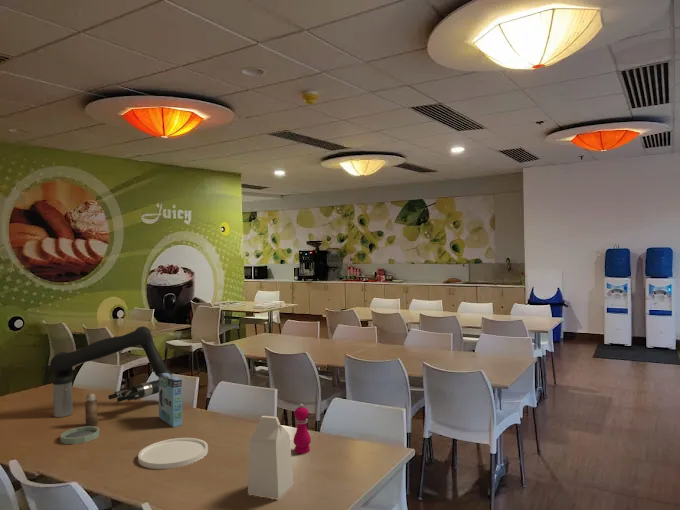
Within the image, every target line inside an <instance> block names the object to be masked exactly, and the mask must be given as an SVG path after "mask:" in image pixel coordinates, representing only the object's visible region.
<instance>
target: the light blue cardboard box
mask: <svg viewBox="0 0 680 510" xmlns="http://www.w3.org/2000/svg"><path fill="white" fill-rule="evenodd" d="M158 375H159V377H158V380H159V392H158V419H160V420H162V421H163V422H165V423H166V424H168V425H169V426H171V427H172V428H176V427H181V426H183V391H182V390H183V389H182V388H183V387H182V386H183V385H182V383H183V382H182V378H179V377H177V376H175V375H174V374H173V375H171V374H168V373H163V374H158Z"/></svg>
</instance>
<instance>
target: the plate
mask: <svg viewBox="0 0 680 510" xmlns="http://www.w3.org/2000/svg"><path fill="white" fill-rule="evenodd" d="M208 445H209V444H208V443H207V442H206V440H202V439H200V438H193V437H177V438H175V437H174V438H169V439H164V440H161V441H158V442H154V443H151V444H148V445H147V446H145V447H144V448H142V449H141V450H140V451H139V452H138V455H137V462H138V464H139V465H140V466H142V467H144V468H147V469H150V470H151V469H153V470H169V469H177V468H182V467H186V466H189V465H192V464H194V463H193V462H195V463H197V462H199V461H200V459H201V460H202V459H203V458H205V457H206V456H207V454H208V453H209V446H208ZM204 456H205V457H204ZM198 460H199V461H198ZM196 461H197V462H196ZM191 463H192V464H191ZM188 464H189V465H188ZM185 465H186V466H185ZM181 466H182V467H181ZM176 467H177V468H176Z"/></svg>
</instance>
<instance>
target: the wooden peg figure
mask: <svg viewBox="0 0 680 510" xmlns="http://www.w3.org/2000/svg"><path fill="white" fill-rule="evenodd" d="M85 400H86V401H84V404H85V405H84V407H85V409H84V411H85V412H84V413H85V426H95V427H97V426H98V403H97V402H98V401H97V399H96V394H95V393H94V392H93V393H92V392H90V393H89V392H88V394H87V395H86V397H85Z"/></svg>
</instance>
